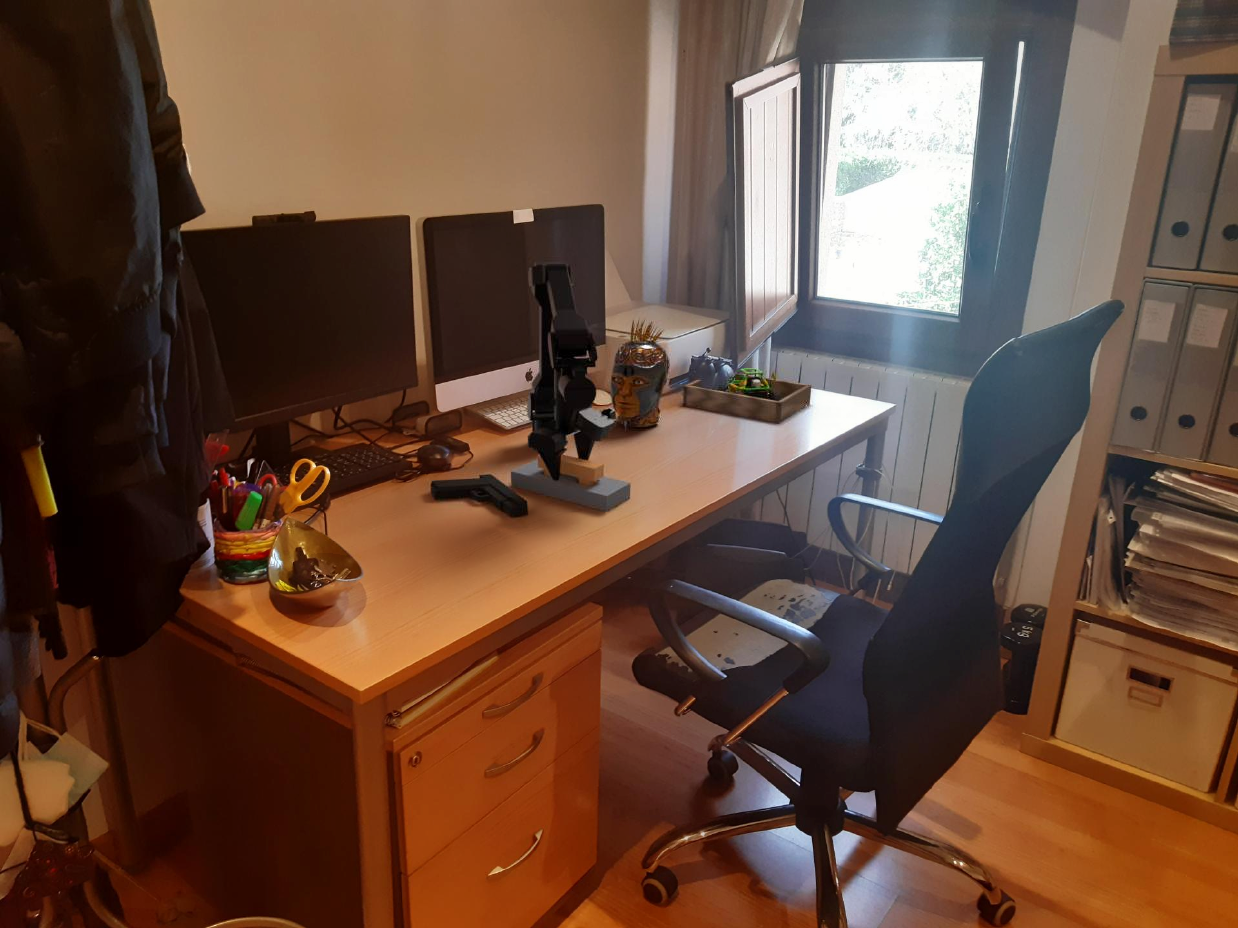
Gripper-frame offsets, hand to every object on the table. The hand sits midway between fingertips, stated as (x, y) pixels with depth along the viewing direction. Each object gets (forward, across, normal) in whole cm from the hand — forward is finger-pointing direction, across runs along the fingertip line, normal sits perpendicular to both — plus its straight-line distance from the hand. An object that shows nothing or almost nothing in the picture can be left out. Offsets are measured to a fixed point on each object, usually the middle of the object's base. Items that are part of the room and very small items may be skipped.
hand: (569, 473), depth 172 cm
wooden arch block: (+4, 0, 0) cm, 4 cm away
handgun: (+4, -15, +11) cm, 19 cm away
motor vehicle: (+4, +75, -2) cm, 75 cm away
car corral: (+4, +75, -2) cm, 75 cm away
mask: (+4, +45, +12) cm, 47 cm away
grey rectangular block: (+4, 0, 0) cm, 4 cm away
